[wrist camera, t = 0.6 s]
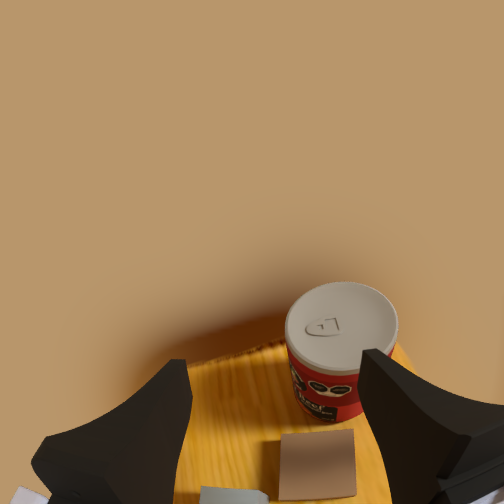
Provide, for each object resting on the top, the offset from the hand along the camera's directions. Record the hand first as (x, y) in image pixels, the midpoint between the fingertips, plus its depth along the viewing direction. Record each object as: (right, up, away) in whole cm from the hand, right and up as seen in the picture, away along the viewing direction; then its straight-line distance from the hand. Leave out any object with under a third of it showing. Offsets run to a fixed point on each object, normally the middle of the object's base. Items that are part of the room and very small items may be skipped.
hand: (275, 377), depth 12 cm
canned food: (+7, -8, +16) cm, 19 cm away
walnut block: (+5, -14, +10) cm, 17 cm away
